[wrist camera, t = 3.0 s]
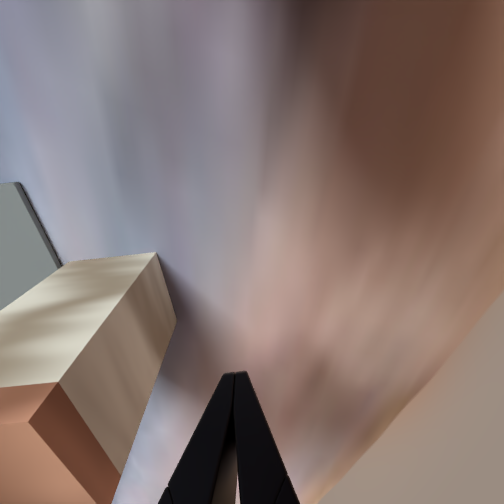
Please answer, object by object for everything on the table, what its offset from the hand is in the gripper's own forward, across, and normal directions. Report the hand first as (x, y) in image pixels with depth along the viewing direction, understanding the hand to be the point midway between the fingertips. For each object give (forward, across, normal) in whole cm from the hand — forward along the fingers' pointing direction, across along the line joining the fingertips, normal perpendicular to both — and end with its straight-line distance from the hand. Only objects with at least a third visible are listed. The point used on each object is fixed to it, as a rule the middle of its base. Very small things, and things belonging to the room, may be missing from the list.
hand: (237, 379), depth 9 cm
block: (+7, +7, 0) cm, 10 cm away
